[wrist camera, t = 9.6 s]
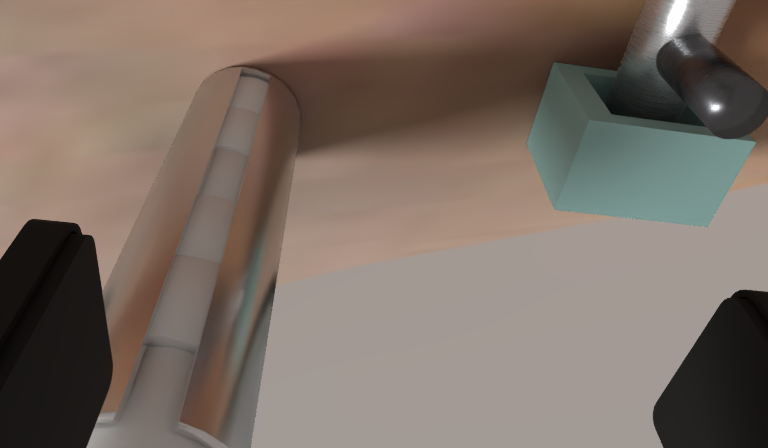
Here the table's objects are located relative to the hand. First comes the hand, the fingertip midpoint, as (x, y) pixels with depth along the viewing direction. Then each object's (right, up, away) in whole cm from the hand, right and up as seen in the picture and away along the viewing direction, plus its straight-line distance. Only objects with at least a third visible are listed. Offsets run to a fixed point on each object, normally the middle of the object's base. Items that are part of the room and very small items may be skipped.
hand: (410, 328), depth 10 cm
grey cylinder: (-9, +8, +29) cm, 32 cm away
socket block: (+14, +8, +30) cm, 34 cm away
